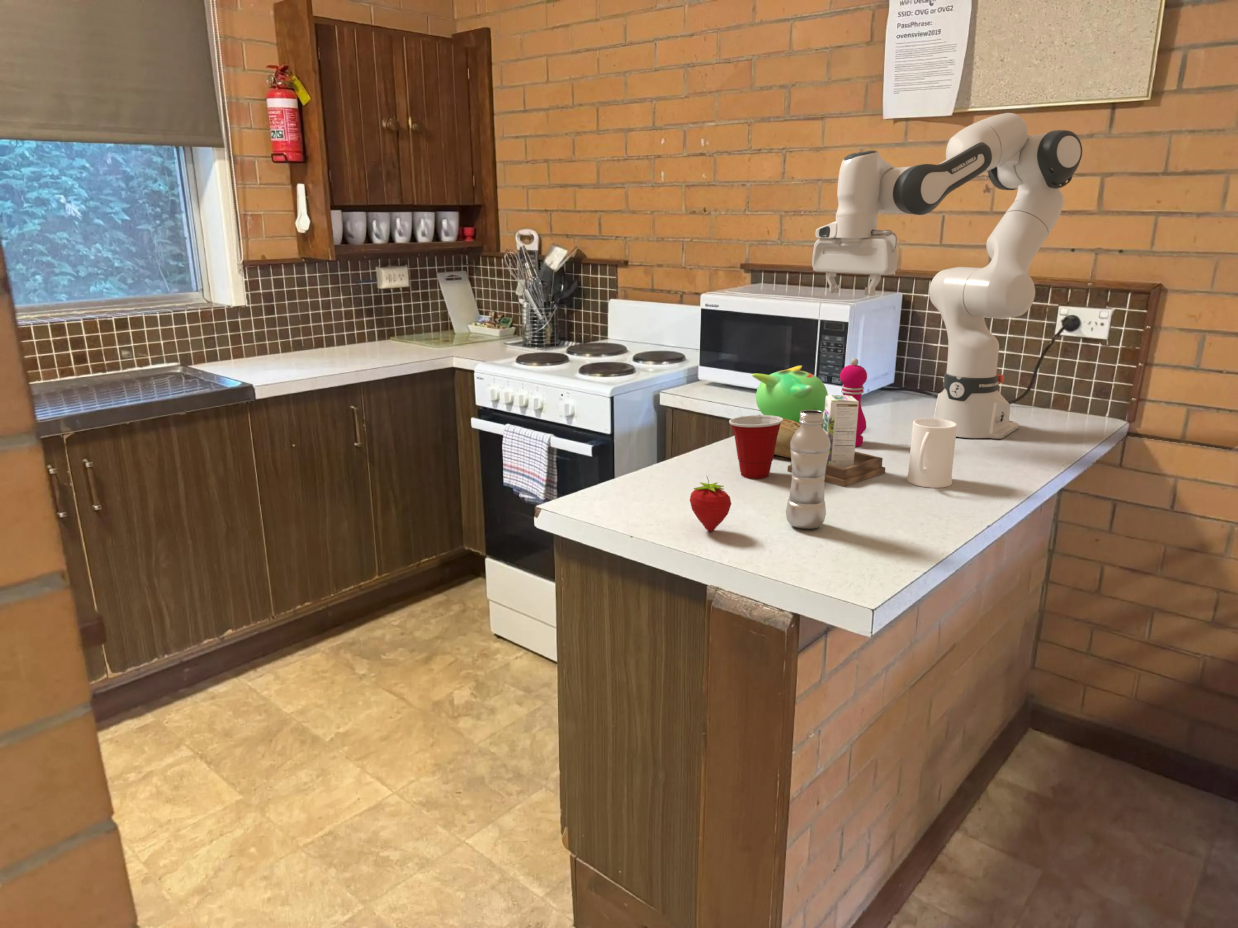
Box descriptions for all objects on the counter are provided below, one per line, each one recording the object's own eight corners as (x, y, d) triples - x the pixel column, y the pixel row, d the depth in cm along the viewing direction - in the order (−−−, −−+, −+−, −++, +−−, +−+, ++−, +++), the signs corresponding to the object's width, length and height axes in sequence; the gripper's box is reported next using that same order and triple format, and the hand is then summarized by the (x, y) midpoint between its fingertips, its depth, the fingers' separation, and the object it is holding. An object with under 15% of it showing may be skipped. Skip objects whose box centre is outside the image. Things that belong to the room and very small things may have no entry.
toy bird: (834, 421, 215) (838, 365, 210) (811, 435, 201) (815, 375, 197) (769, 414, 224) (771, 359, 220) (743, 427, 210) (745, 369, 206)
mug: (936, 495, 157) (942, 433, 154) (892, 486, 163) (897, 426, 159) (958, 480, 166) (964, 422, 162) (916, 472, 171) (921, 415, 168)
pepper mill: (866, 448, 190) (872, 361, 184) (833, 446, 191) (839, 360, 185) (863, 440, 196) (869, 356, 191) (832, 439, 198) (837, 355, 192)
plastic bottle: (780, 520, 145) (785, 408, 139) (818, 519, 145) (825, 407, 140) (791, 534, 139) (796, 417, 133) (830, 532, 139) (838, 416, 134)
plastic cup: (748, 464, 179) (750, 409, 175) (791, 474, 171) (793, 417, 168) (716, 475, 171) (717, 418, 168) (759, 486, 164) (761, 427, 160)
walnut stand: (829, 458, 182) (830, 444, 181) (884, 472, 171) (886, 458, 170) (787, 471, 173) (788, 456, 172) (843, 486, 163) (844, 471, 162)
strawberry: (715, 541, 136) (717, 483, 133) (681, 530, 141) (681, 474, 138) (738, 532, 140) (740, 475, 137) (703, 521, 145) (704, 466, 142)
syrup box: (819, 462, 175) (823, 394, 171) (848, 462, 175) (852, 394, 171) (825, 470, 169) (829, 400, 165) (854, 470, 169) (859, 400, 165)
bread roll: (756, 445, 194) (758, 411, 192) (818, 454, 186) (820, 419, 183) (738, 454, 186) (739, 419, 184) (801, 464, 178) (803, 428, 176)
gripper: (906, 229, 176) (900, 296, 180) (827, 229, 191) (823, 290, 195) (888, 230, 172) (883, 298, 176) (809, 230, 187) (806, 292, 191)
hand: (851, 294), depth 186 cm, fingers open, 8 cm apart
